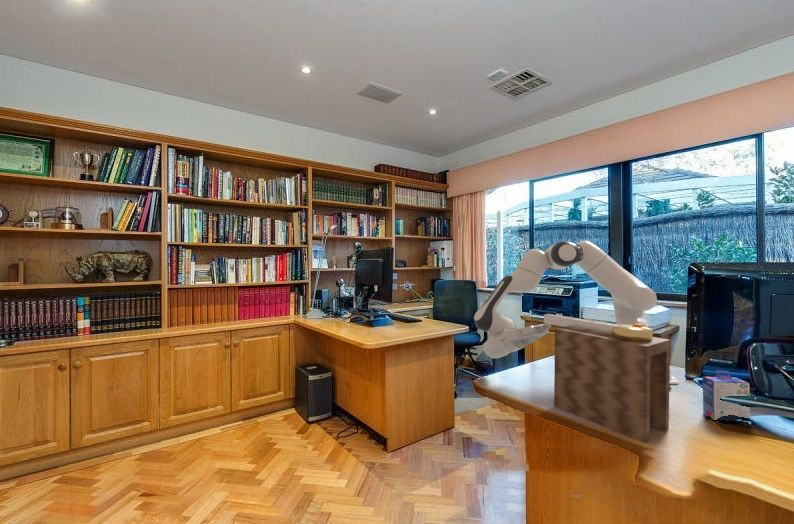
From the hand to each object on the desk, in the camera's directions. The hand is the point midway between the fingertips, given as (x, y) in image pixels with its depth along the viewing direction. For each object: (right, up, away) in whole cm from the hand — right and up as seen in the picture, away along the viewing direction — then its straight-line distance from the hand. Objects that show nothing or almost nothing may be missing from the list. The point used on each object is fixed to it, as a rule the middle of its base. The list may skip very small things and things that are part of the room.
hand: (541, 326), depth 129 cm
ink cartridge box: (+48, -25, -21) cm, 58 cm away
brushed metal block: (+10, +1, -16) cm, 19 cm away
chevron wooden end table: (+13, -25, -20) cm, 34 cm away
